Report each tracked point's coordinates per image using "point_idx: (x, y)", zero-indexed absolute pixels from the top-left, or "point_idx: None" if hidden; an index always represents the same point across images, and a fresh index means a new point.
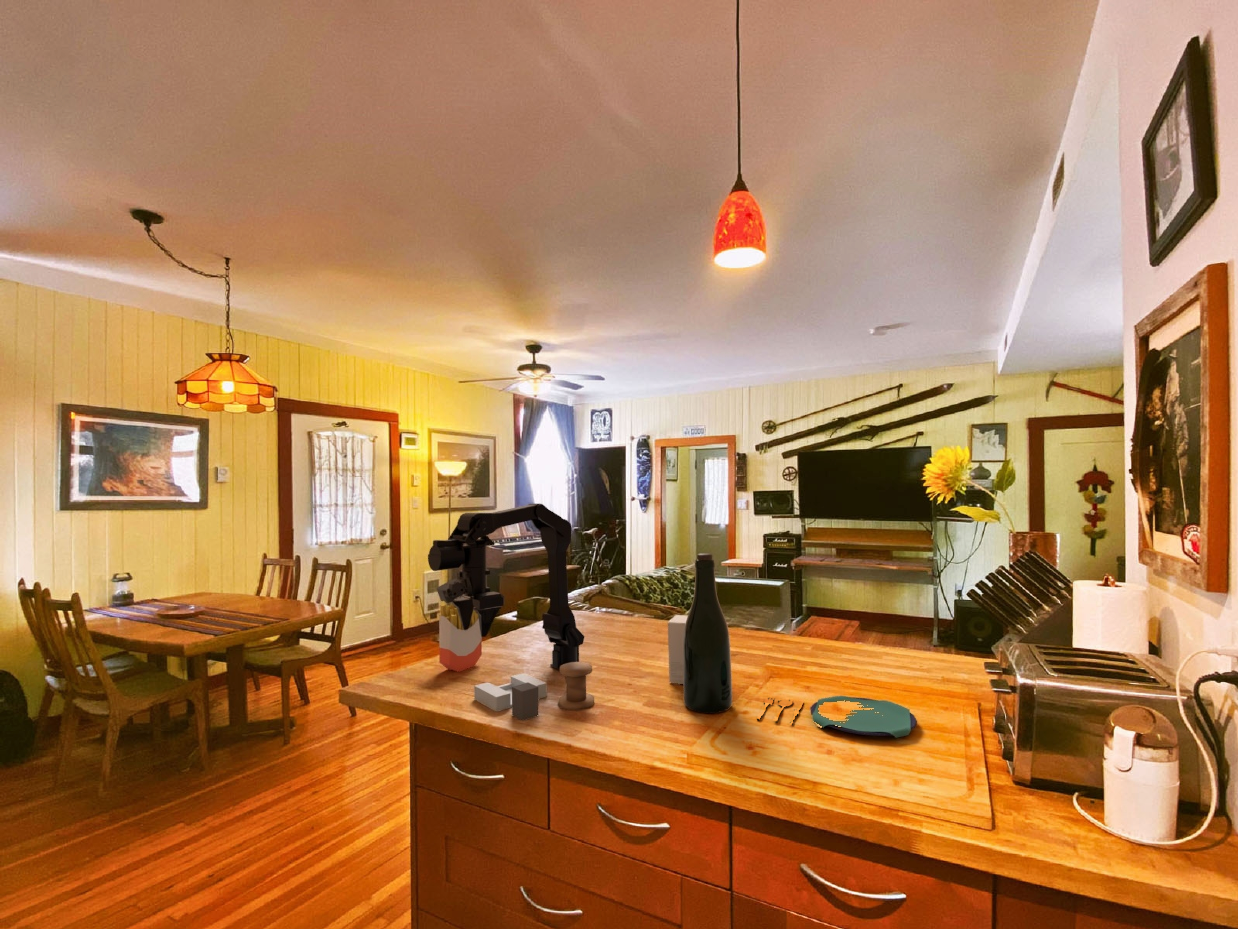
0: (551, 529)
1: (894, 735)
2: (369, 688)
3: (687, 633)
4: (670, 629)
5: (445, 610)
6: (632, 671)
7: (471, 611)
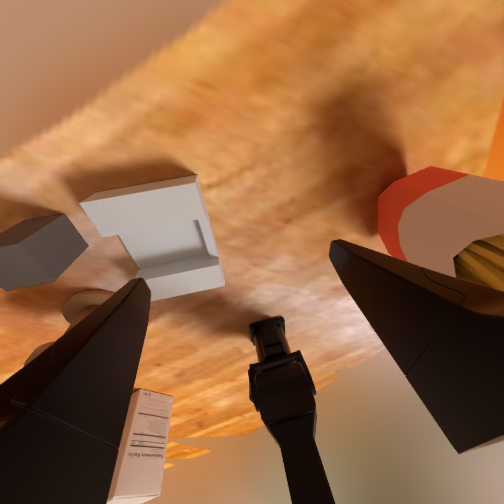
0: None
1: None
2: None
3: None
4: (112, 483)
5: None
6: (203, 372)
7: (388, 340)
